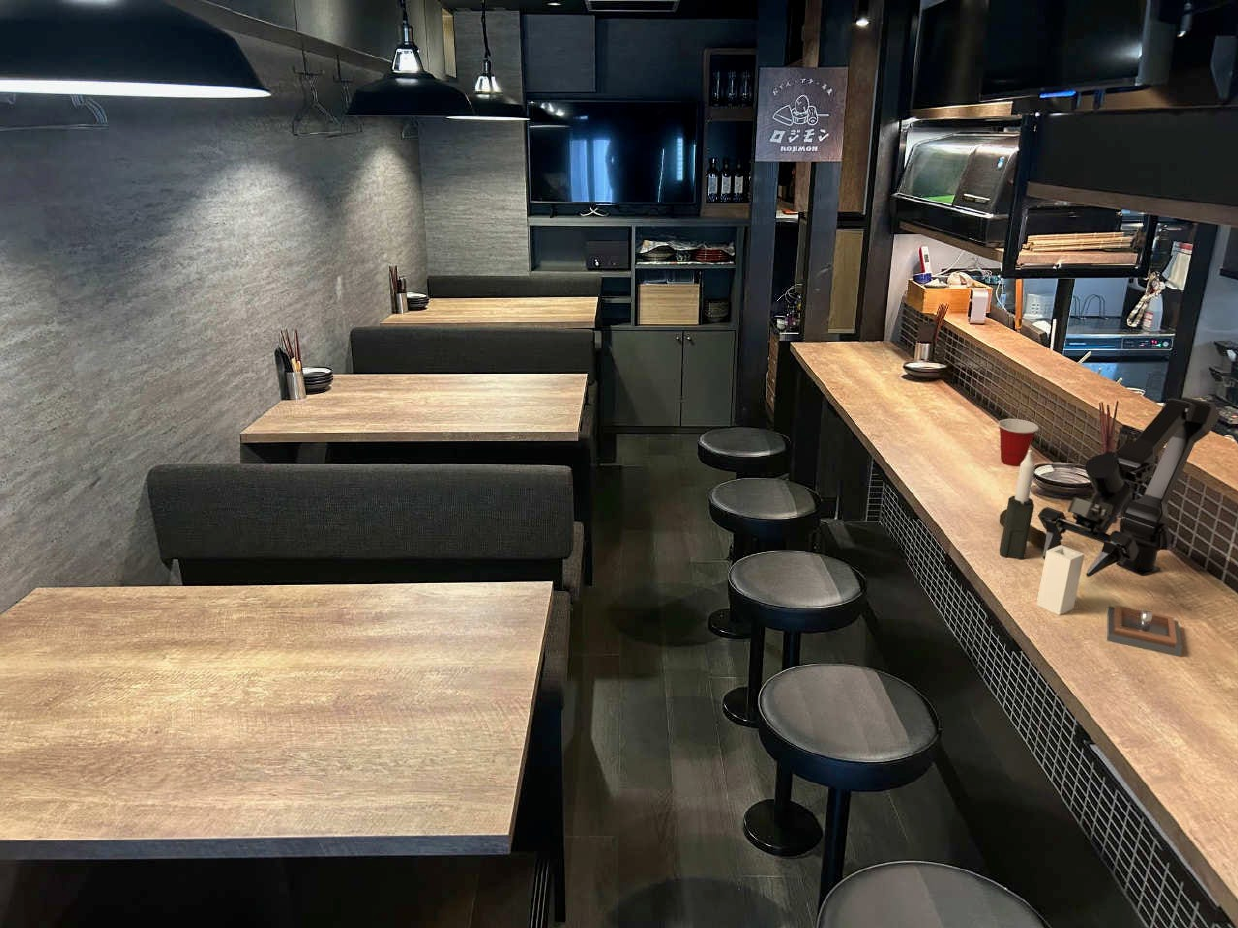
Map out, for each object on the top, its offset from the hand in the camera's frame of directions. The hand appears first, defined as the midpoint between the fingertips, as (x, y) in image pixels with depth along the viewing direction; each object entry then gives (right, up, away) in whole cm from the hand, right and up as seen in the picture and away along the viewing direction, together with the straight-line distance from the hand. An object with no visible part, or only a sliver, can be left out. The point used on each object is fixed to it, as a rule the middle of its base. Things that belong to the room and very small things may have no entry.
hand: (1065, 566), depth 183 cm
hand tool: (+7, +2, +35) cm, 35 cm away
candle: (0, 0, +26) cm, 26 cm away
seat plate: (+11, -12, -7) cm, 18 cm away
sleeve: (-1, -8, +2) cm, 9 cm away
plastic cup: (+26, +21, +86) cm, 92 cm away
